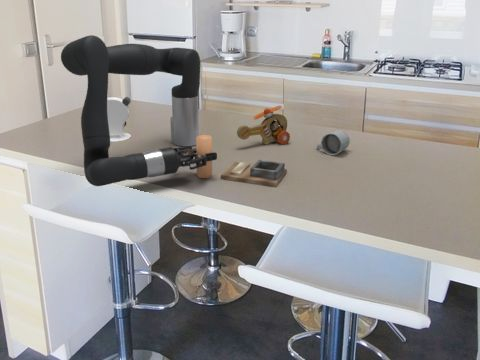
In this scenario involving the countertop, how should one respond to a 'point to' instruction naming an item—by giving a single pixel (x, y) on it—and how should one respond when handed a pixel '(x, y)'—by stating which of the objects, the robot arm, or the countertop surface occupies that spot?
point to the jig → (256, 172)
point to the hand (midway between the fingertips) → (212, 153)
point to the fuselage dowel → (203, 148)
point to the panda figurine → (118, 118)
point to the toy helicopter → (267, 127)
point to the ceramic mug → (334, 142)
